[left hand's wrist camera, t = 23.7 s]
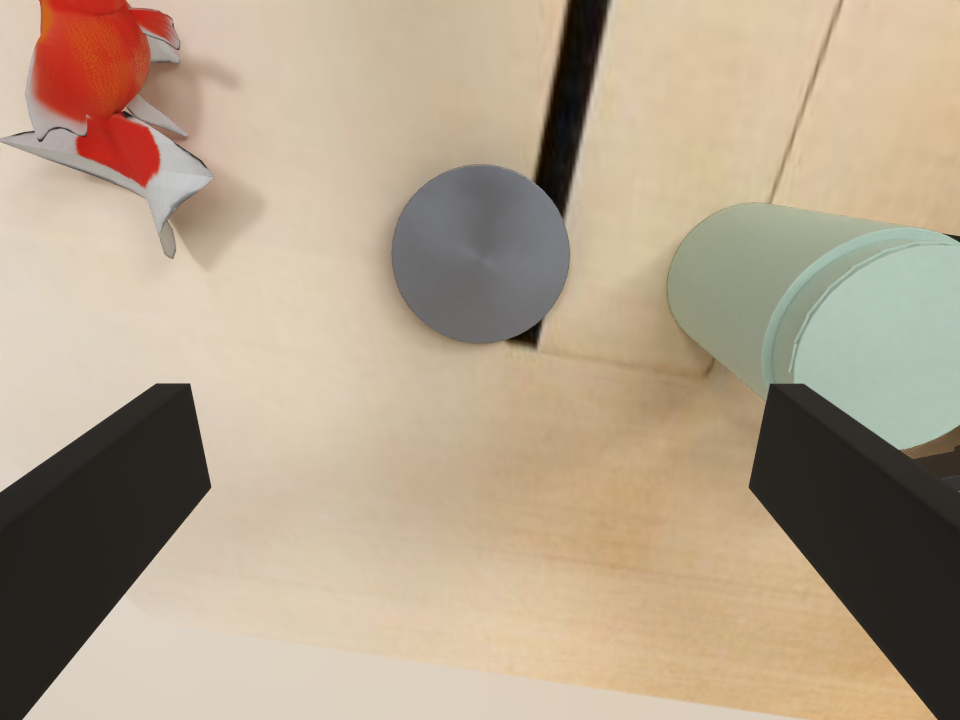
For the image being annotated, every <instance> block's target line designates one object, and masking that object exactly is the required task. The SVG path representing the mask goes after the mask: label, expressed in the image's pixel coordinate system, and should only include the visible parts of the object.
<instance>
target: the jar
mask: <svg viewBox="0 0 960 720" xmlns="http://www.w3.org/2000/svg"><path fill="white" fill-rule="evenodd" d="M667 295H668V302H669V306H670V310H671V312H672V314H673V317H674V319H675V320H676V322H677V324H678V325H679V326H680V327H681V329H682V330H683V331H684V332H685V333H686V334H687V335H688V336H690V337H691V338H692V339H693V340H694V341H695V342H697V343H698V344H699V345H700V346H701V347H702V348H704V349H705V350H706V351H707V352H708V353H709V354H711V355H712V356H713V357H714V358H715V359H716V360H718V361H719V362H720V363H721V364H722V365H723V366H725V367H726V368H727V369H728V370H729V371H730V372H732V373H733V374H734V375H735V376H736V377H737V378H739V379H740V380H741V381H742V382H743V383H745V384H746V385H747V386H748V387H749V388H750V389H752V390H753V391H754V392H755V393H756V394H757V395H759V396H760V397H761V398H762V399H763V400H764V401H766V400H767V395H768V390H769V386H770V384H805V385H807V386H808V387H809V388H811V389H812V390H814V391H815V392H817V393H818V394H819V395H821V396H822V397H824V398H825V399H827V400H828V401H829V402H831V403H832V404H834V405H835V406H837V407H838V408H840V409H841V410H842V411H844V412H845V413H847V414H848V415H850V416H851V417H852V418H854V419H855V420H857V421H858V422H860V423H861V424H862V425H864V426H865V427H867V428H868V429H870V430H871V431H872V432H874V433H875V434H877V435H878V436H880V437H881V438H882V439H884V440H885V441H887V442H888V443H890V444H891V445H893V446H894V447H895V448H897V449H898V450H903V449H908V448H911V447H915V446H918V445H921V444H924V443H926V442H929V441H931V440H934V439H936V438H938V437H940V436H942V435H944V434H946V433H948V432H950V431H951V430H953V429H954V428H956V427H957V426H959V425H960V243H959V242H958V241H956V240H954V239H952V238H951V237H949V236H947V235H944V234H941V233H939V232H936V231H933V230H927V229H922V228H916V227H910V226H904V225H897V224H891V223H885V222H879V221H873V220H866V219H860V218H854V217H848V216H841V215H835V214H829V213H823V212H816V211H810V210H804V209H798V208H791V207H785V206H779V205H773V204H766V203H743V204H739V205H734V206H731V207H728V208H725V209H723V210H721V211H719V212H717V213H715V214H713V215H711V216H710V217H708V218H707V219H705V220H703V221H702V222H701V223H700V224H699V225H698V226H696V227H695V228H694V229H693V230H692V231H691V232H690V233H689V235H688V236H687V237H686V238H685V240H684V241H683V242H682V244H681V245H680V247H679V249H678V250H677V252H676V254H675V256H674V259H673V261H672V264H671V267H670V270H669V275H668V281H667Z"/></svg>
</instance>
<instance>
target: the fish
mask: <svg viewBox="0 0 960 720" xmlns="http://www.w3.org/2000/svg"><path fill="white" fill-rule="evenodd" d="M39 1H40V5H41V36H40V38H39V39H38V41H37V44H36V46H35V49H34V53H33V56H32V60H31V64H30V68H29V73H28V78H27V85H26V92H25V96H26V101H27V106H28V111H29V115H30V118H31V122H32V125H33V128H34V131H30V132H23V133H19V134H16V135H12V136H8V137H4V138H1V139H0V142H2V143H5V144H7V145H10V146H13V147H15V148H18V149H21V150H23V151H26V152H29V153H31V154H34V155H37V156H39V157H42V158H45V159H47V160H50V161H53V162H56V163H59V164H62V165H65V166H68V167H70V168H73V169H76V170H79V171H82V172H85V173H88V174H90V175H93V176H96V177H99V178H101V179H104V180H106V181H109V182H111V183H114V184H116V185H119V186H121V187H124V188H126V189H129V190H131V191H133V192H134V193H136V194H138V195H140V196H142V197H144V198H146V199H147V201H148V204H149V207H150V209H151V212H152V215H153V218H154V221H155V225H156V229H157V231H158V234H159V237H160V241H161V244H162V247H163V251H164V254H165V255H166V256H168V257H169V258H172V259H173V258H174V255H175V252H176V245H175V239H174V234H173V229H172V228H171V226H170V224H169V223H168V221H167V219H168V218H169V217H170V215H171V214H172V213H173V212H174V211H175V210H176V209H177V208H178V206H179V205H180V204H181V203H182V202H184V201H185V200H187V199H188V198H189V197H191V196H192V195H194V194H195V193H196V192H198V191H199V190H200V189H201V188H202V187H204V186H205V185H206V184H207V183H208V182H209V181H211V180H212V179H213V178H214V176H213V175H212V174H211V172H210V171H209V170H208V169H207V167H206V166H205V165H204V163H203V162H202V161H201V160H200V159H198V158H197V157H195V156H194V155H192V154H191V153H189V152H188V151H186V150H185V149H183V148H182V147H180V146H179V145H177V144H176V143H174V142H173V141H172V140H170V139H169V138H167V137H166V136H165V135H163V134H162V133H160V132H159V131H157V130H155V129H154V128H152V127H150V126H149V125H147V124H146V123H144V122H142V121H145V122H147V123H150V124H153V125H156V126H159V127H162V128H165V129H167V130H170V131H172V132H175V133H177V134H180V135H182V136H184V137H187V136H188V134H187V133H185V132H184V131H183V130H182V129H181V128H180V127H178V126H177V125H176V124H175V123H174V122H173V121H172V120H170V119H169V118H168V117H167V116H166V115H164V114H163V113H162V112H160V111H159V110H157V109H156V108H154V107H153V106H151V105H150V104H149V103H147V102H146V101H145V100H144V99H143V98H142V97H141V96H140V95H139V94H138V93H139V92H140V90H141V88H142V87H143V85H144V83H145V81H146V78H147V75H148V72H149V68H150V62H154V63H160V62H169V63H179V61H180V58H179V56H178V55H177V54H176V53H175V52H174V51H173V50H172V49H171V48H170V47H169V46H168V45H167V44H166V43H168V44H169V45H171V46H172V47H174V48H175V49H176V50H179V49H180V40H179V38H178V36H177V34H176V31H175V29H174V24H173V19H172V18H171V17H170V16H168V15H166V14H163V13H161V12H160V11H158V10H153V9H145V8H131V6H130V5H129V3H128V2H127V1H126V0H39ZM165 42H166V43H165ZM125 106H126V107H127V109H128V110H129V111H130V112H131V113H132V114H133V115H134V116H135V117H137V118H138V119H137V118H135V117H134V116H132V115H130V114H129V113H127V112H125V111H123V112H122V110H123V109H124V107H125ZM139 119H140V120H139ZM141 120H142V121H141ZM54 128H55V129H54Z"/></svg>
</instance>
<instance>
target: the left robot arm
mask: <svg viewBox="0 0 960 720" xmlns="http://www.w3.org/2000/svg"><path fill="white" fill-rule="evenodd" d="M210 489H211V483H210V478H209V473H208V468H207V464H206V459H205V454H204V449H203V444H202V439H201V434H200V429H199V425H198V420H197V415H196V410H195V405H194V400H193V395H192V390H191V386H190V384H155V385H153V386H152V387H151V388H149V389H148V390H146V391H145V392H143V393H142V394H141V395H139V396H138V397H136V398H135V399H133V400H132V401H131V402H129V403H128V404H126V405H125V406H123V407H122V408H120V409H119V410H118V411H116V412H115V413H113V414H112V415H110V416H109V417H108V418H106V419H105V420H103V421H102V422H100V423H99V424H98V425H96V426H95V427H93V428H92V429H90V430H89V431H88V432H86V433H85V434H83V435H82V436H80V437H79V438H78V439H76V440H75V441H73V442H72V443H70V444H69V445H67V446H66V447H65V448H63V449H62V450H60V451H59V452H57V453H56V454H55V455H53V456H52V457H50V458H49V459H47V460H46V461H45V462H43V463H42V464H40V465H39V466H37V467H36V468H35V469H33V470H32V471H30V472H29V473H27V474H26V475H24V476H23V477H22V478H20V479H19V480H17V481H16V482H14V483H13V484H12V485H10V486H9V487H7V488H6V489H4V490H3V491H2V492H0V720H22V719H23V718H24V717H25V716H26V714H27V713H28V712H29V711H30V710H31V708H32V707H33V706H34V705H35V703H36V702H37V701H38V700H39V699H40V697H41V696H42V695H43V694H44V692H45V691H46V690H47V689H48V687H49V686H50V685H51V684H52V683H53V681H54V680H55V679H56V678H57V676H58V675H59V674H60V673H61V672H62V670H63V669H64V668H65V667H66V665H67V664H68V663H69V662H70V660H71V659H72V658H73V657H74V656H75V654H76V653H77V652H78V651H79V649H80V648H81V647H82V646H83V645H84V643H85V642H86V641H87V640H88V638H89V637H90V636H91V635H92V633H93V632H94V631H95V630H96V628H97V627H98V626H99V625H100V624H101V622H102V621H103V620H104V619H105V617H106V616H107V615H108V614H109V613H110V611H111V610H112V609H113V608H114V606H115V605H116V604H117V603H118V602H119V600H120V599H121V598H122V597H123V595H124V594H125V593H126V592H127V590H128V589H129V588H130V587H131V586H132V584H133V583H134V582H135V581H136V579H137V578H138V577H139V576H140V575H141V573H142V572H143V571H144V570H145V568H146V567H147V566H148V565H149V563H150V562H151V561H152V560H153V559H154V557H155V556H156V555H157V554H158V552H159V551H160V550H161V549H162V548H163V546H164V545H165V544H166V543H167V541H168V540H169V539H170V538H171V536H172V535H173V534H174V533H175V532H176V530H177V529H178V528H179V527H180V525H181V524H182V523H183V522H184V520H185V519H186V518H187V517H188V516H189V514H190V513H191V512H192V511H193V509H194V508H195V507H196V506H197V505H198V503H199V502H200V501H201V500H202V498H203V497H204V496H205V495H206V493H207V492H208V491H209V490H210ZM749 489H750V490H751V491H752V492H753V493H754V495H755V496H756V497H757V498H758V500H759V501H760V502H761V503H762V505H763V506H764V507H765V508H766V509H767V511H768V512H769V513H770V514H771V516H772V517H773V518H774V519H775V520H776V522H777V523H778V524H779V525H780V527H781V528H782V529H783V530H784V532H785V533H786V534H787V535H788V536H789V538H790V539H791V540H792V541H793V543H794V544H795V545H796V546H797V548H798V549H799V550H800V551H801V552H802V554H803V555H804V556H805V557H806V559H807V560H808V561H809V562H810V563H811V565H812V566H813V567H814V568H815V570H816V571H817V572H818V573H819V575H820V576H821V577H822V578H823V579H824V581H825V582H826V583H827V584H828V586H829V587H830V588H831V589H832V590H833V592H834V593H835V594H836V595H837V597H838V598H839V599H840V600H841V602H842V603H843V604H844V605H845V606H846V608H847V609H848V610H849V611H850V613H851V614H852V615H853V616H854V618H855V619H856V620H857V621H858V622H859V624H860V625H861V626H862V627H863V629H864V630H865V631H866V632H867V633H868V635H869V636H870V637H871V638H872V640H873V641H874V642H875V643H876V645H877V646H878V647H879V648H880V649H881V651H882V652H883V653H884V654H885V656H886V657H887V658H888V659H889V660H890V662H891V663H892V664H893V665H894V667H895V668H896V669H897V670H898V672H899V673H900V674H901V675H902V676H903V678H904V679H905V680H906V681H907V683H908V684H909V685H910V686H911V688H912V689H913V690H914V691H915V692H916V694H917V695H918V696H919V697H920V699H921V700H922V701H923V702H924V703H925V705H926V706H927V707H928V708H929V710H930V711H931V712H932V713H933V715H934V716H935V717H936V718H937V719H938V720H960V492H958V491H957V490H956V489H954V488H953V487H951V486H950V485H948V484H947V483H946V482H944V481H943V480H941V479H940V478H938V477H937V476H936V475H934V474H933V473H931V472H930V471H928V470H927V469H925V468H924V467H923V466H921V465H920V464H918V463H917V462H915V461H914V460H913V459H911V458H910V457H908V456H907V455H905V454H904V453H903V452H901V451H900V450H898V449H897V448H895V447H894V446H893V445H891V444H890V443H888V442H887V441H885V440H884V439H882V438H881V437H880V436H878V435H877V434H875V433H874V432H872V431H871V430H870V429H868V428H867V427H865V426H864V425H862V424H861V423H860V422H858V421H857V420H855V419H854V418H852V417H851V416H850V415H848V414H847V413H845V412H844V411H842V410H841V409H840V408H838V407H837V406H835V405H834V404H832V403H831V402H829V401H828V400H827V399H825V398H824V397H822V396H821V395H819V394H818V393H817V392H815V391H814V390H812V389H811V388H809V387H808V386H807V385H805V384H770V386H769V390H768V395H767V400H766V405H765V410H764V415H763V420H762V425H761V429H760V434H759V439H758V444H757V449H756V454H755V459H754V464H753V468H752V473H751V478H750V483H749Z"/></svg>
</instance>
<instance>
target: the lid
mask: <svg viewBox="0 0 960 720" xmlns="http://www.w3.org/2000/svg"><path fill="white" fill-rule="evenodd" d="M569 257H570V252H569V240H568V235H567V231H566V228H565V225H564V222H563V219H562V217H561V215H560V213H559V211H558V209H557V208H556V206H555V205H554V203H553V202H552V200H551V199H550V198H549V197H548V195H547V194H546V193H545V192H544V191H543V190H542V189H541V188H540V187H539V186H537V185H536V184H535V183H534V182H532V181H531V180H529V179H528V178H526V177H525V176H523V175H521V174H519V173H516V172H514V171H512V170H509V169H506V168H503V167H499V166H493V165H468V166H463V167H459V168H455V169H452V170H450V171H447V172H445V173H443V174H440V175H439V176H437V177H435V178H434V179H432V180H430V181H429V182H428V183H427V184H425V185H424V186H423V187H422V188H420V189H419V190H418V192H417V193H416V194H415V195H414V196H413V197H412V198H411V200H410V201H409V202H408V204H407V205H406V207H405V208H404V210H403V212H402V214H401V216H400V218H399V220H398V223H397V226H396V229H395V233H394V237H393V244H392V265H393V271H394V276H395V279H396V282H397V286H398V288H399V290H400V292H401V294H402V297H403V298H404V300H405V301H406V303H407V305H408V306H409V307H410V309H411V310H412V311H413V312H414V314H415V315H416V316H417V317H418V318H419V319H420V320H421V321H423V322H424V323H425V324H426V325H428V326H429V327H430V328H432V329H433V330H435V331H437V332H439V333H440V334H442V335H444V336H447V337H449V338H452V339H455V340H459V341H463V342H470V343H492V342H498V341H502V340H506V339H509V338H512V337H514V336H517V335H519V334H521V333H523V332H525V331H527V330H528V329H530V328H531V327H532V326H534V325H535V324H537V323H538V322H539V321H540V320H541V319H542V318H543V317H544V316H545V315H546V314H547V313H548V312H549V310H550V309H551V308H552V307H553V305H554V304H555V302H556V301H557V299H558V297H559V295H560V293H561V291H562V289H563V286H564V283H565V281H566V278H567V273H568V268H569Z"/></svg>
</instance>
